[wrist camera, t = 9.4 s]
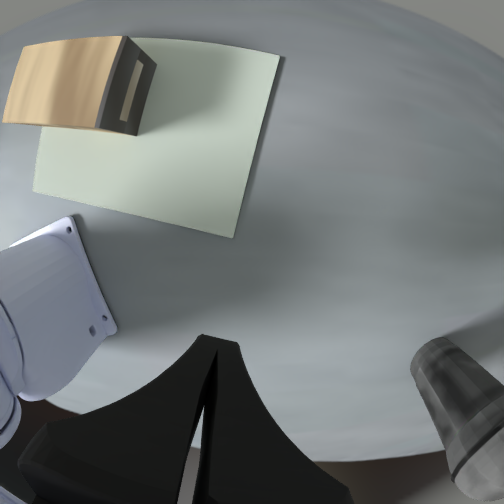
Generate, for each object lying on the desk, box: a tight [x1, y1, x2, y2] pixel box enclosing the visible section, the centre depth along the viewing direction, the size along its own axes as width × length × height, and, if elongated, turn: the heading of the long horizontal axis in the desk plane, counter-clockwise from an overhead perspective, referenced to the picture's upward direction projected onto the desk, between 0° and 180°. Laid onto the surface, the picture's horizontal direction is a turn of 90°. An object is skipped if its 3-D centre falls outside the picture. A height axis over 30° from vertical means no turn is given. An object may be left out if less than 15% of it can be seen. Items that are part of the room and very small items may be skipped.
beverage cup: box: [410, 338, 504, 501], centre depth 12 cm, size 7×7×20 cm
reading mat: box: [33, 38, 280, 239], centre depth 17 cm, size 16×12×1 cm
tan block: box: [2, 36, 157, 136], centre depth 13 cm, size 5×5×8 cm
